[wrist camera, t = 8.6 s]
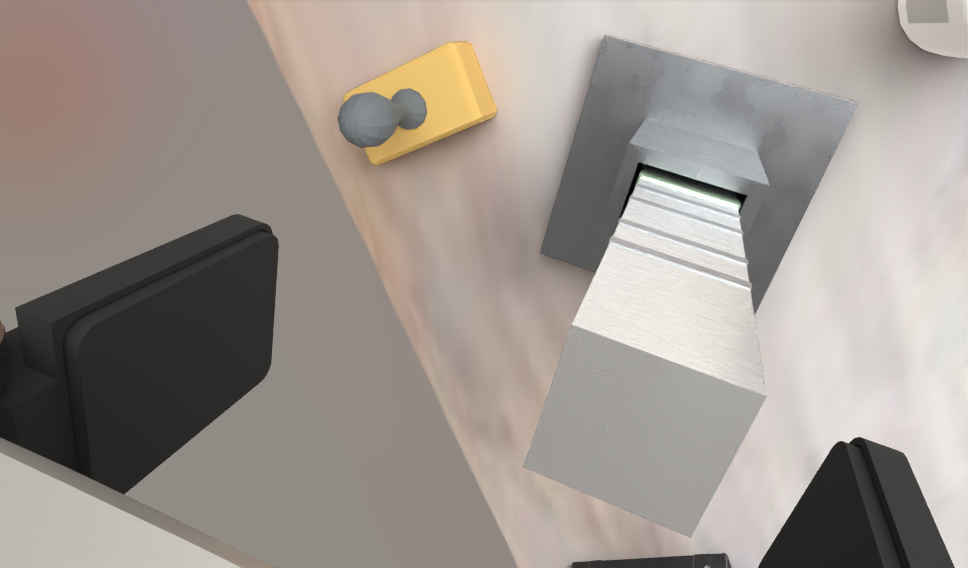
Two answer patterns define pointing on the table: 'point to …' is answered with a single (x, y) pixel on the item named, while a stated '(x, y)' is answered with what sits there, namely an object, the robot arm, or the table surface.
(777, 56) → the table surface
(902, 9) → the spray bottle
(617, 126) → the jack stand base
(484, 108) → the rubber stamp
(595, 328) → the block
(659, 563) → the disk drive
